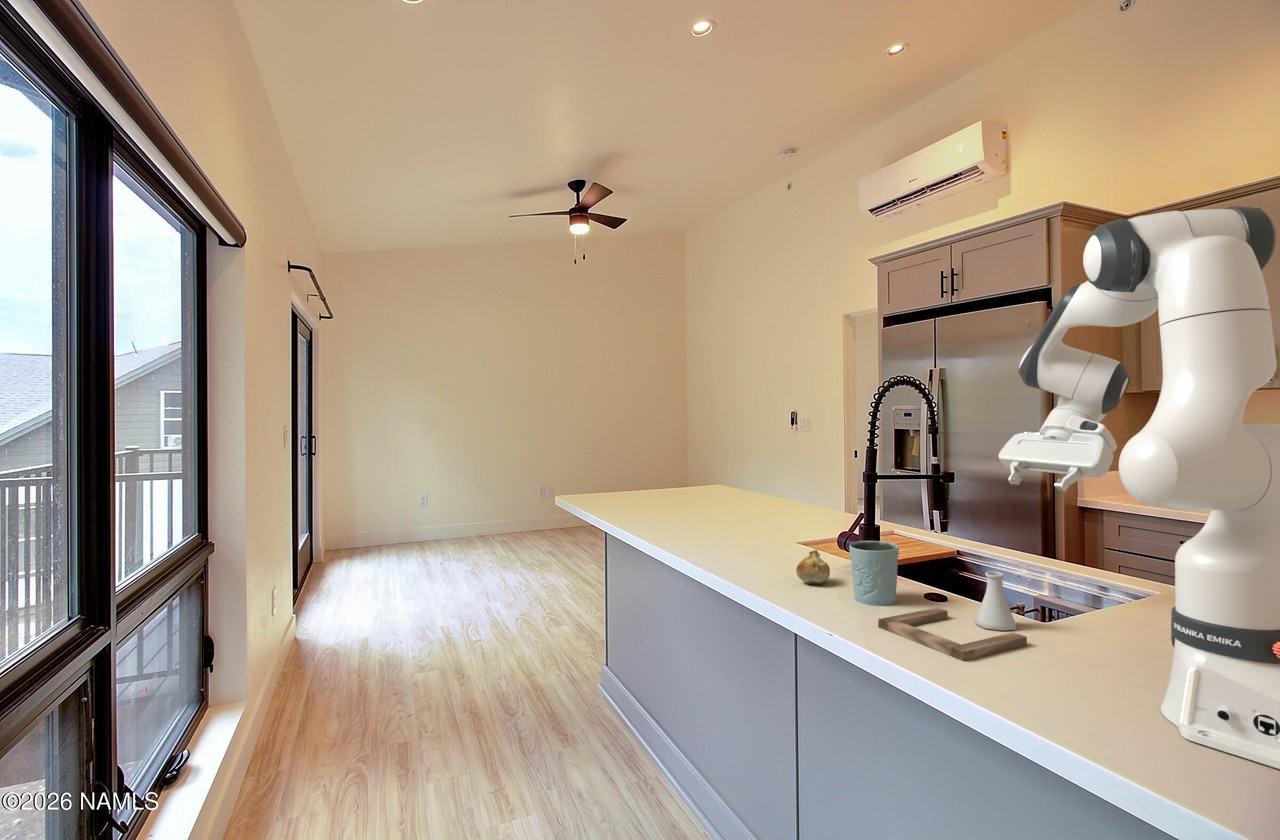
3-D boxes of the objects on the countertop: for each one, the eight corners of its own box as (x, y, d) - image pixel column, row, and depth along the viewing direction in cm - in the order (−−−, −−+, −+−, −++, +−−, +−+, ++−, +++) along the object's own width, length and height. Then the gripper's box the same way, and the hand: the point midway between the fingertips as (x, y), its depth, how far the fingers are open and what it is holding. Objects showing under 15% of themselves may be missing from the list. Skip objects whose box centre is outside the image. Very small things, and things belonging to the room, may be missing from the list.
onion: (790, 581, 159) (789, 548, 159) (820, 578, 161) (819, 546, 161) (805, 589, 152) (804, 555, 152) (836, 586, 154) (835, 552, 154)
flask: (1023, 632, 120) (1022, 578, 120) (980, 631, 122) (979, 577, 122) (1009, 620, 127) (1008, 569, 127) (969, 618, 129) (968, 568, 129)
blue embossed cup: (902, 596, 145) (901, 542, 144) (896, 609, 136) (896, 551, 135) (854, 591, 149) (853, 539, 149) (846, 603, 140) (845, 548, 140)
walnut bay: (1026, 645, 114) (1026, 636, 114) (963, 661, 108) (963, 651, 108) (937, 614, 131) (937, 607, 131) (878, 626, 125) (878, 619, 125)
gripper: (1010, 421, 142) (980, 469, 138) (1113, 425, 123) (1082, 481, 119) (1023, 440, 144) (994, 488, 140) (1126, 447, 125) (1096, 503, 122)
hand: (1035, 485), depth 130 cm, fingers open, 8 cm apart
